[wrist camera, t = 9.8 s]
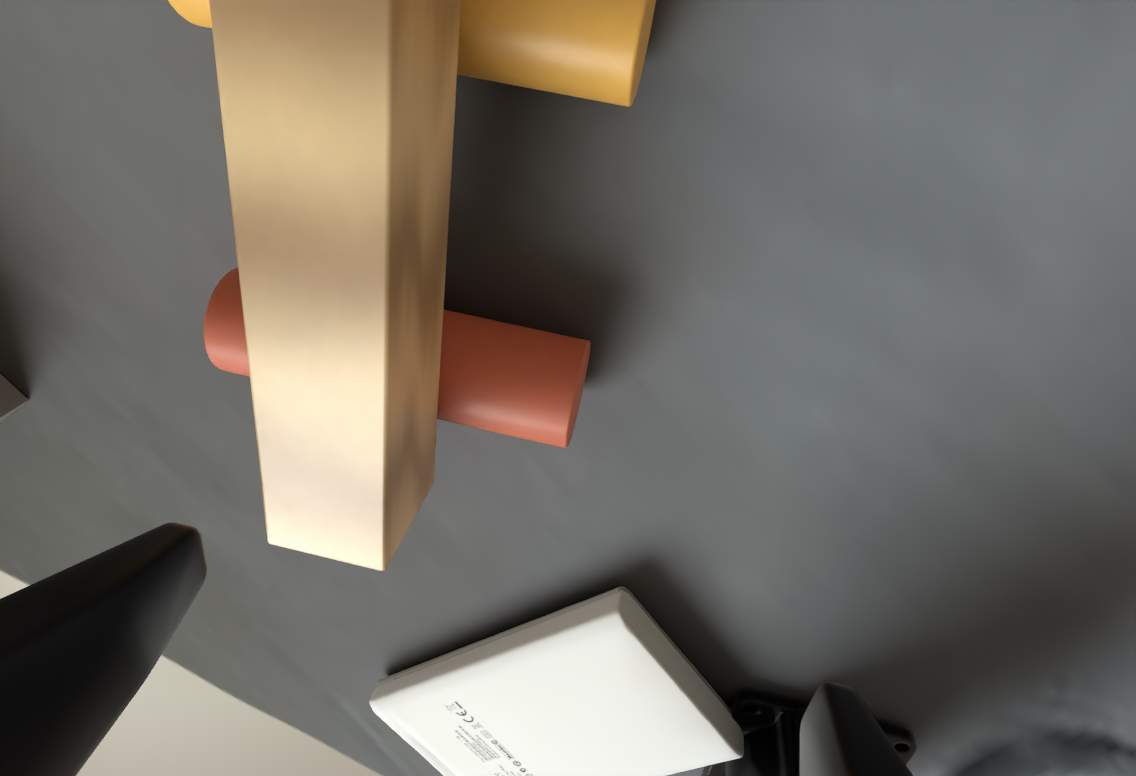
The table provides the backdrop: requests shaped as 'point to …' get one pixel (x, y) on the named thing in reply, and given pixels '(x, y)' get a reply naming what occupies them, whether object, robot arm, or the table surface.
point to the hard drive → (563, 700)
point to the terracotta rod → (460, 369)
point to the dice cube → (9, 398)
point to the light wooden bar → (341, 254)
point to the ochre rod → (541, 43)
